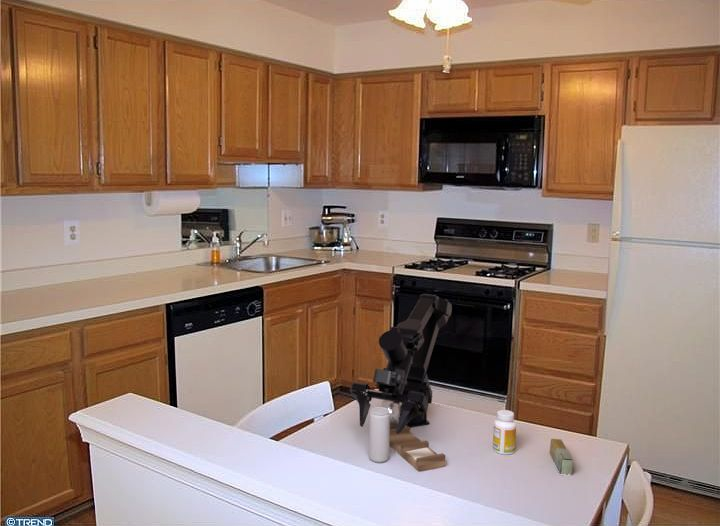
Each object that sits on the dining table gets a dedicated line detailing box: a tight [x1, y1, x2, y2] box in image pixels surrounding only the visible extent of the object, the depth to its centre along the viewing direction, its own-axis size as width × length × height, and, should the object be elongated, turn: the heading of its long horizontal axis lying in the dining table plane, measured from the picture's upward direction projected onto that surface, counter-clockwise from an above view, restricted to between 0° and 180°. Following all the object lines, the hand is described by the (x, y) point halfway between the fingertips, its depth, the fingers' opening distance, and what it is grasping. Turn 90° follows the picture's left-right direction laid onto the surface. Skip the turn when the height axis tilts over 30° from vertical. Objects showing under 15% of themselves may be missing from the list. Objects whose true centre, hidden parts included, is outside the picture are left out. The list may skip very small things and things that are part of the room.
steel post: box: [381, 400, 401, 429], centre depth 164 cm, size 5×5×7 cm
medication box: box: [549, 438, 574, 476], centre depth 149 cm, size 12×3×4 cm, turn 175°
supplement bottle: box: [492, 409, 517, 456], centre depth 155 cm, size 5×5×10 cm
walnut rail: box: [389, 426, 446, 473], centre depth 157 cm, size 26×7×3 cm, turn 24°
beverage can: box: [368, 406, 390, 464], centre depth 149 cm, size 5×5×12 cm
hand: (378, 429), depth 148 cm, fingers open, 9 cm apart
